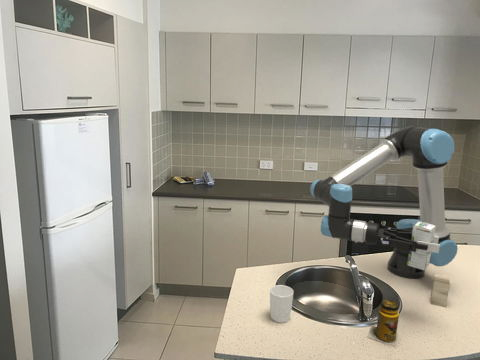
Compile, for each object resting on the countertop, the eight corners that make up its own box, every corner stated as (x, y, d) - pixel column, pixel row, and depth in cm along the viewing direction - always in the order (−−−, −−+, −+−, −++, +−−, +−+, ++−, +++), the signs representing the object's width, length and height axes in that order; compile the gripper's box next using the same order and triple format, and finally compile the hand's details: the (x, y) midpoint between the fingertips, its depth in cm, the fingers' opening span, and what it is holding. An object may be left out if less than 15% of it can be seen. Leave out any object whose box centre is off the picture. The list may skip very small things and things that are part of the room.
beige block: (430, 297, 150) (434, 273, 148) (445, 300, 148) (449, 276, 146) (430, 304, 146) (434, 279, 143) (445, 307, 144) (449, 282, 141)
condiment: (395, 346, 121) (399, 311, 118) (366, 337, 125) (370, 303, 122) (398, 334, 127) (402, 300, 124) (371, 326, 131) (375, 293, 128)
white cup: (285, 309, 139) (286, 283, 137) (295, 321, 132) (297, 294, 130) (264, 313, 137) (266, 286, 134) (274, 325, 130) (276, 298, 127)
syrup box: (411, 260, 136) (417, 220, 133) (429, 265, 133) (436, 224, 129) (406, 265, 132) (412, 224, 129) (425, 271, 128) (431, 229, 125)
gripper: (368, 233, 147) (436, 245, 138) (360, 252, 130) (438, 267, 121) (370, 214, 145) (439, 224, 136) (363, 231, 128) (441, 244, 119)
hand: (438, 244), depth 128 cm, fingers closed on syrup box, 7 cm apart
